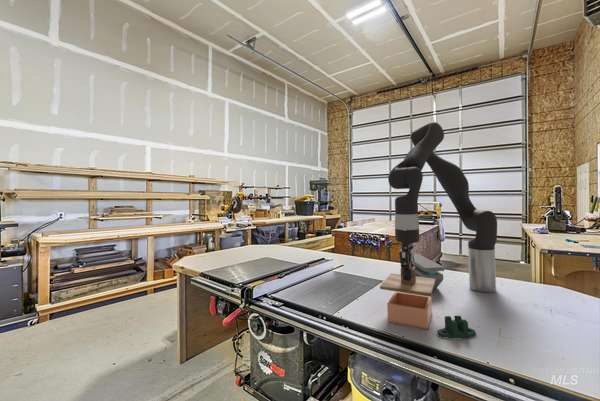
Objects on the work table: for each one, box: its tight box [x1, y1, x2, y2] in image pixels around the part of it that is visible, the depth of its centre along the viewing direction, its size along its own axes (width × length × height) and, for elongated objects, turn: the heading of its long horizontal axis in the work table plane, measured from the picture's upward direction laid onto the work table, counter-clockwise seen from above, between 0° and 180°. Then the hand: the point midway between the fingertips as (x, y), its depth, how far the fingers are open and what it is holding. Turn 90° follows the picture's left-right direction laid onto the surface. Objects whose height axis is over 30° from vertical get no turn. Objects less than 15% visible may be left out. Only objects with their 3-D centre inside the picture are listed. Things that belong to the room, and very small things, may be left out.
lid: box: [379, 266, 436, 298], centre depth 90 cm, size 15×15×6 cm
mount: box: [436, 315, 477, 339], centre depth 79 cm, size 11×4×5 cm, turn 91°
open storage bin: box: [386, 291, 433, 330], centre depth 90 cm, size 12×12×6 cm
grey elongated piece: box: [404, 253, 445, 289], centre depth 122 cm, size 25×8×11 cm, turn 179°
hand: (408, 277), depth 90 cm, fingers closed on lid, 4 cm apart
